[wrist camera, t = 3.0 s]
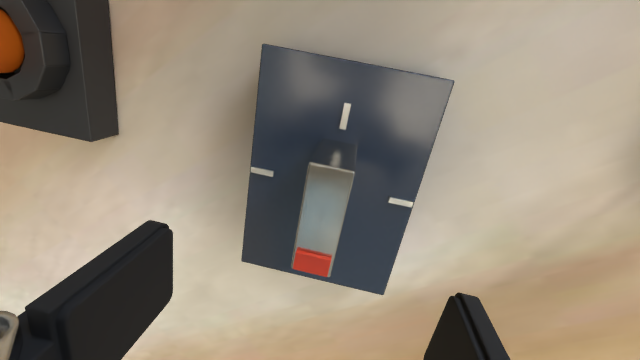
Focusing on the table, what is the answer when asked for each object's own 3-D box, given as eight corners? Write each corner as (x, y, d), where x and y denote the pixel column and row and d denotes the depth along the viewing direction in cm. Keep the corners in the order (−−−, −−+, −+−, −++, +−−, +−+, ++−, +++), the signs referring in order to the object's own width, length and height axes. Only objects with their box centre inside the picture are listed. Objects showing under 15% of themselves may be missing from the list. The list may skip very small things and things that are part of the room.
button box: (-18, -67, 18) (-114, -100, 15) (104, -45, 18) (37, -74, 14) (19, 112, 22) (-50, 122, 19) (118, 134, 22) (69, 148, 18)
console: (277, 46, 18) (260, 43, 15) (440, 78, 18) (456, 80, 15) (255, 238, 24) (240, 263, 21) (381, 267, 23) (383, 297, 20)
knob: (322, 137, 17) (307, 163, 12) (357, 144, 17) (355, 174, 12) (306, 222, 19) (289, 271, 14) (337, 229, 19) (329, 281, 14)
